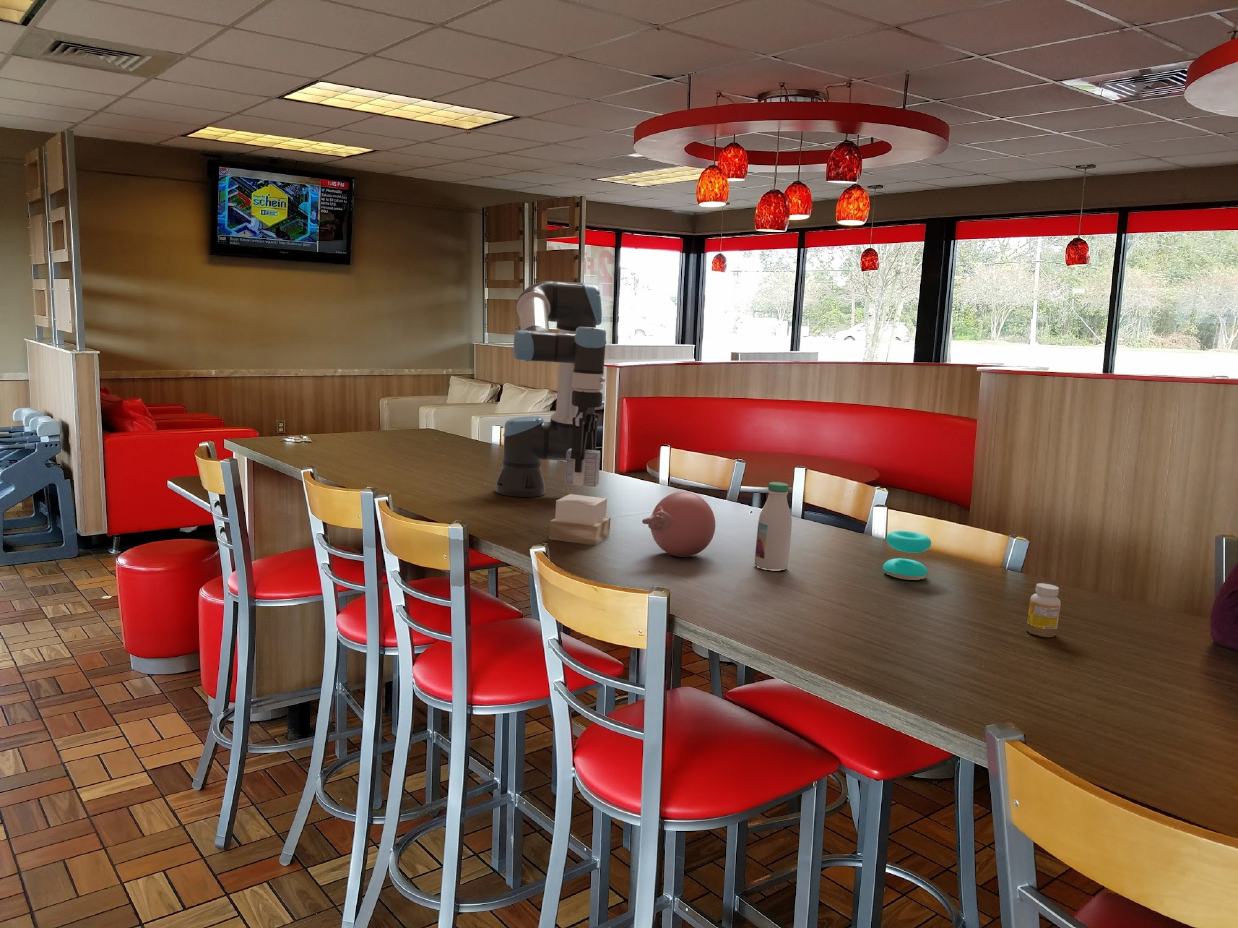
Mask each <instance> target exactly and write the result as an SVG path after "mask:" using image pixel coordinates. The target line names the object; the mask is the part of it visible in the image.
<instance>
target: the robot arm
mask: <svg viewBox="0 0 1238 928" xmlns="http://www.w3.org/2000/svg"><path fill="white" fill-rule="evenodd" d="M515 309H516V314H517V316H518V317H519V319H520V330H519V329H518V330H516V331H514V334H513V354H512V355H513V358H514V359H515V360H517V361H518V360H519V361H525V362H543V363H544V362H546V363H559V365H558V377H557V391H556V392H557V394H556V408H555V409H556V410H555V412H554V413H552V414H551V416H550V420H549V421H544V418H543V416H538V415H537V416H535V415H534V416H533V415H532V416H531V415H530V416H520V417H514V418H510V419H508V420H507V421H505V423H504V432H503V434H502V435H503V448H502V449H503V450H502V451H503V452H502V454H503V455H502V466H501V470H500V473H499V475H498V477H497V478H498V479H497V481H496V483H495V492H496V493H497V494H499V495H504V496H507V497H508V496H509V497H516V498H536V497H540V496H544V495H545V494H546V484H545V481H544V476H543V472H542V468H541V466H542V461H561V462H562V461H563V462H566V458H567V451H568V450H569V449H571V456H570V458H571V459H574V470H573V485H572V486H580V487H585V486H584V477H585V459H584V455H585V449H586V450H597V436H598V434H597V433H598V421H599V416H600V415H599V414H598V413H596V410H595V409H596V408H601V407H602V405H603V393H602V390H603V388H604V383H605V382H606V379H605V378H604V375H605V374H604V372H605V368H604V367H605V358H606V355H605V354H606V345H607V332H606V329H605V328H603V327H602V328H601V327H597V326H600V325H601V324H602V320H603V319H602V318H603V316H602V315H603V314H602V313H603V312H602V311H603V309H602V298H601V291H600V289H599V287H598V286H597V285H596V284H593V283H585V282H577V281H576V282H574V281H573V282H571V281H570V282H569V281H552V280H543V281H539V282H536V283H533V284H531V285H529V286H528V287H526V288H525V289H524V290H523V291H522V292H521V293H520V294H519V296H518V298H517V300H516V308H515ZM549 322H554V323H556V330H558V332H555V331H550V324H549Z"/></svg>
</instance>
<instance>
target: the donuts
mask: <svg viewBox="0 0 1238 928" xmlns="http://www.w3.org/2000/svg"><path fill="white" fill-rule="evenodd" d="M885 541H886V543H887V544H888V546H889V547H891V548H892V549H894V550H897V551H899V552H900V551H901V552H905V553H910V554H911V553H912V554H913V553H914V554H915V553H917V554H918V553H924V552H926V551H928V550H930V548H931V546H932V540H931V538H930V537H929V536H927V535H926V534H923V533H919V532H915V531H909V530H895V531H894V530H893V531H891V532H889V533H888V534H887V535H886V539H885ZM882 566H883V567H882V570H883V569H884V570H885V571H888V572H892V573H893V574H900V575H905V576H924V575H926V574H927V573H929V572H928V568H927V567H926V566H925V565H924V564H923V563H921V562H919V561H917V560H914V559H909V558H900V557H898V558H891V559H887V561H885V562H884V563H883V565H882ZM927 575H928V574H927Z"/></svg>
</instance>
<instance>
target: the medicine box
mask: <svg viewBox="0 0 1238 928" xmlns="http://www.w3.org/2000/svg"><path fill="white" fill-rule="evenodd" d="M570 456H571V449H569V450H568V451H567V458H566V461H565V477H564V479H565V481H564V484H565V485H567V486H568V485H570V486H574V485H573V470H574V459H571V458H570ZM584 459H585V477H584V486H583V487H597V486H598V485H599V483H600V482H599V480H600V464H601V462H600V461H601V451H600V450H597V449H596V450H586V449H585V455H584Z"/></svg>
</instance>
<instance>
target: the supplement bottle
mask: <svg viewBox="0 0 1238 928" xmlns="http://www.w3.org/2000/svg"><path fill="white" fill-rule="evenodd" d="M1035 585H1036V586H1035V593H1034V594H1032V595H1031V596H1030V599H1029V606H1028V614H1027V615H1028V616H1027V621H1026V624H1027V623H1028V624H1030V625H1031V626H1034V627H1036V628H1041V629H1050V630H1051V629H1053V630H1054V629H1057V630H1058V623H1059V617H1060V611H1061V600H1060V599H1059V597H1057V596H1058V595H1059V592H1060V588H1059V587H1058V586H1057V585H1053V584H1049V583H1043V582H1040V583H1036V584H1035Z"/></svg>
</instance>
